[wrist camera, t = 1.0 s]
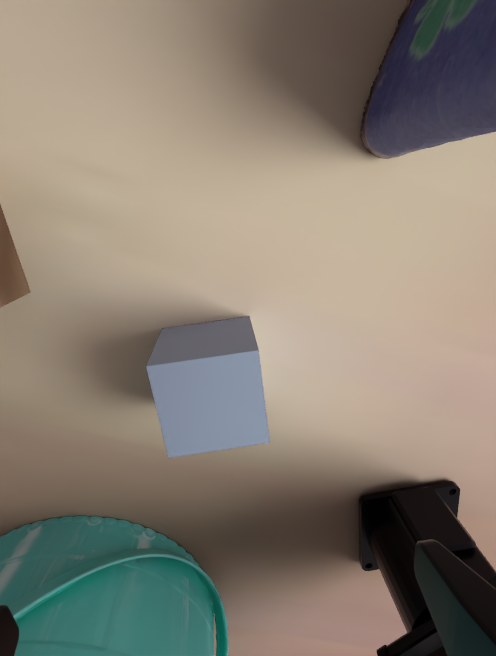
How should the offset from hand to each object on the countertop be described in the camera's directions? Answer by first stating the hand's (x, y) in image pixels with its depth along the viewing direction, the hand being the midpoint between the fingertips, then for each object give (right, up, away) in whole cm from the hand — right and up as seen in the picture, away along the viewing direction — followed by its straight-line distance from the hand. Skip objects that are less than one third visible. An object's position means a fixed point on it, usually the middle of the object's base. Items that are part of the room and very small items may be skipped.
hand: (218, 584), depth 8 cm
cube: (-1, +4, +11) cm, 12 cm away
